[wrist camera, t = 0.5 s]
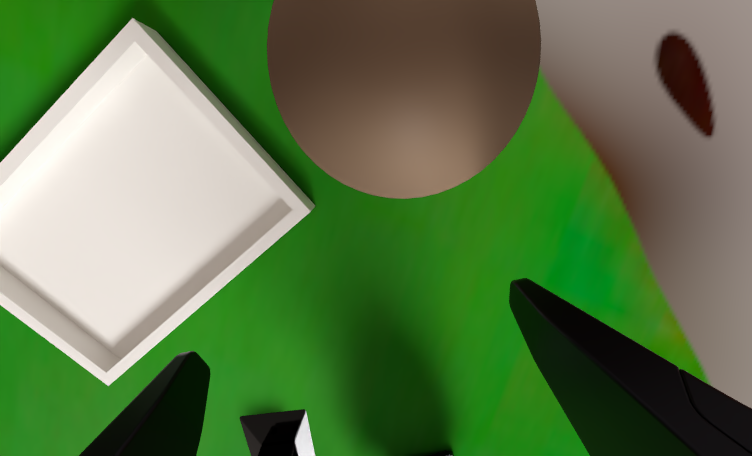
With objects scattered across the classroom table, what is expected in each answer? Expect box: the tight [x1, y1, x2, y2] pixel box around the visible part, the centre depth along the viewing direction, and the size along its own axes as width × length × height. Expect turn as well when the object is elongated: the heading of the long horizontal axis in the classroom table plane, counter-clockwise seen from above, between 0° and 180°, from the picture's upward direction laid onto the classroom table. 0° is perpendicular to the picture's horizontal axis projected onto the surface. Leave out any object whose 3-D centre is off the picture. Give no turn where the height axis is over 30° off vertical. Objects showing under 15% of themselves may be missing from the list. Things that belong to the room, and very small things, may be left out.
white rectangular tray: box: [0, 18, 315, 386], centre depth 20 cm, size 20×14×2 cm
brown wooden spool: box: [267, 0, 541, 199], centre depth 14 cm, size 7×7×13 cm
